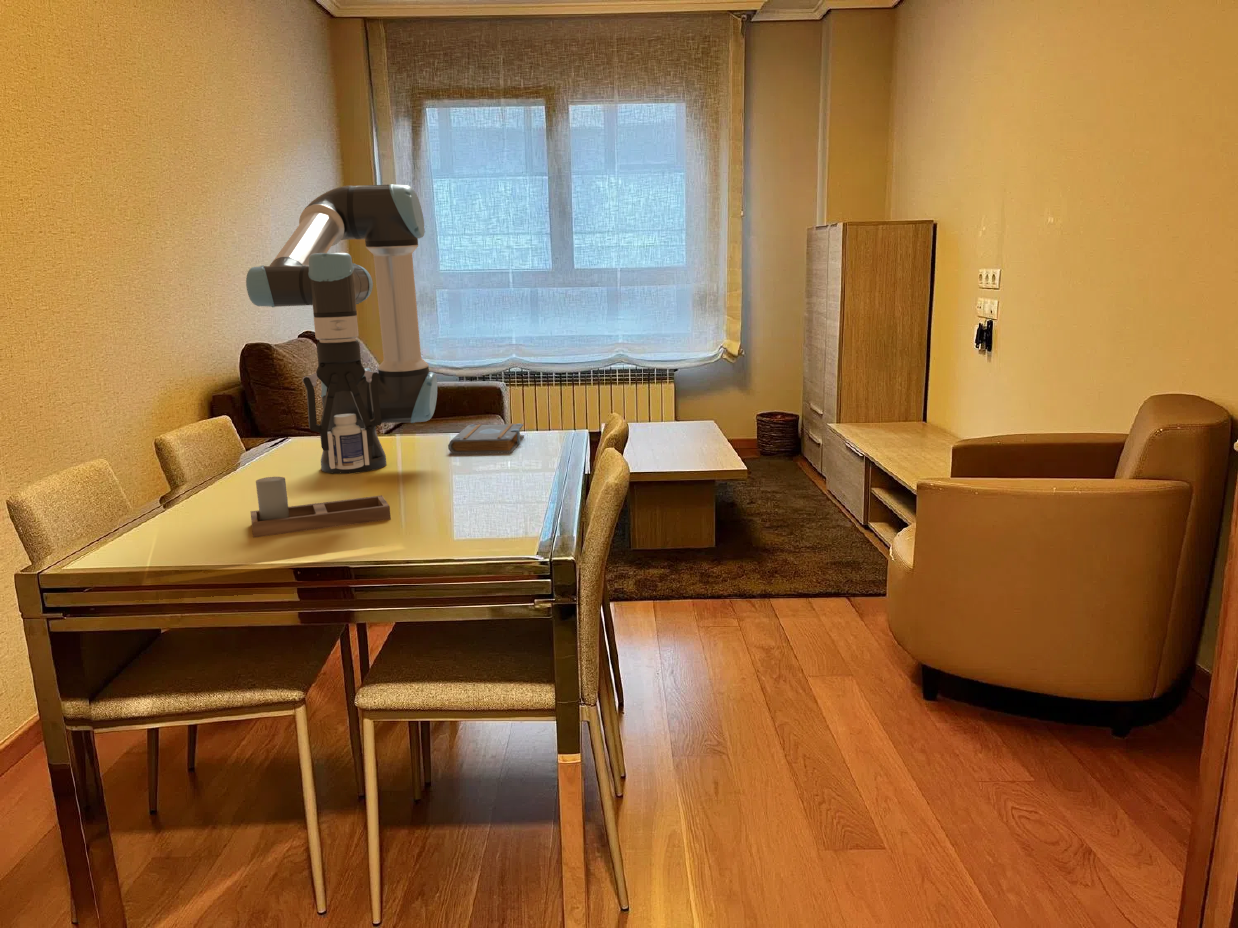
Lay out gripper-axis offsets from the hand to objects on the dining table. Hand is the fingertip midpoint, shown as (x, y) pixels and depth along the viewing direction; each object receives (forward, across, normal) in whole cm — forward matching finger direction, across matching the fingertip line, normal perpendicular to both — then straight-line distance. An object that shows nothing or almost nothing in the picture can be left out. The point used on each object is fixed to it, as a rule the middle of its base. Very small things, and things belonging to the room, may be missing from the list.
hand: (349, 465), depth 171 cm
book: (+12, +42, +59) cm, 73 cm away
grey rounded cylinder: (+10, -14, 0) cm, 17 cm away
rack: (+11, -6, 0) cm, 13 cm away
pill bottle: (+1, 0, 0) cm, 1 cm away
